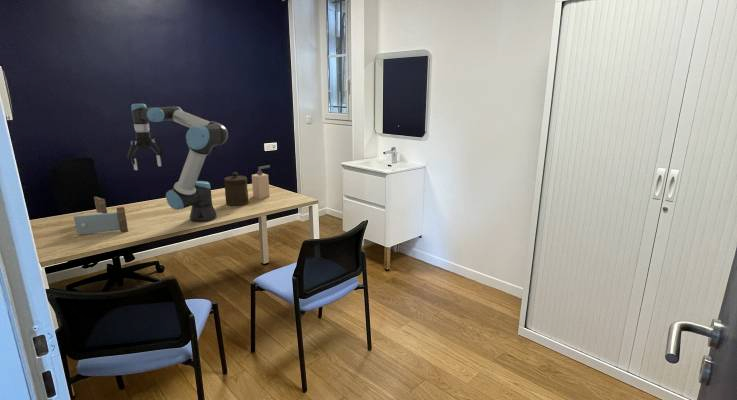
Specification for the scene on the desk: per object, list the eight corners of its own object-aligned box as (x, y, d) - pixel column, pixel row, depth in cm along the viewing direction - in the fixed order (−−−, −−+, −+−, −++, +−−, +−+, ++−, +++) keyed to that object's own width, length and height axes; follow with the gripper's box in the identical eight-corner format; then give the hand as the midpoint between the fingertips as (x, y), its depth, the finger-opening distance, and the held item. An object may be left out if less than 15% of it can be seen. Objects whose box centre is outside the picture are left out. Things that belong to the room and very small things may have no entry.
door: (124, 228, 225) (121, 211, 222) (123, 230, 222) (120, 213, 220) (78, 233, 218) (74, 216, 215) (76, 235, 215) (72, 217, 212)
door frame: (128, 231, 223) (124, 207, 219) (122, 233, 221) (118, 208, 217) (102, 218, 244) (98, 196, 240) (96, 219, 242) (92, 197, 238)
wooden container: (248, 199, 286) (245, 169, 280) (249, 205, 272) (246, 173, 266) (226, 201, 281) (223, 170, 275) (226, 207, 268) (223, 175, 262)
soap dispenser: (259, 198, 289) (257, 168, 283) (253, 196, 295) (250, 166, 289) (274, 195, 298) (272, 166, 292) (267, 193, 304) (266, 164, 298)
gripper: (160, 129, 242) (165, 164, 248) (116, 133, 223) (122, 170, 229) (167, 130, 238) (172, 165, 244) (122, 133, 218) (128, 172, 224)
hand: (148, 168), depth 236 cm, fingers open, 13 cm apart
